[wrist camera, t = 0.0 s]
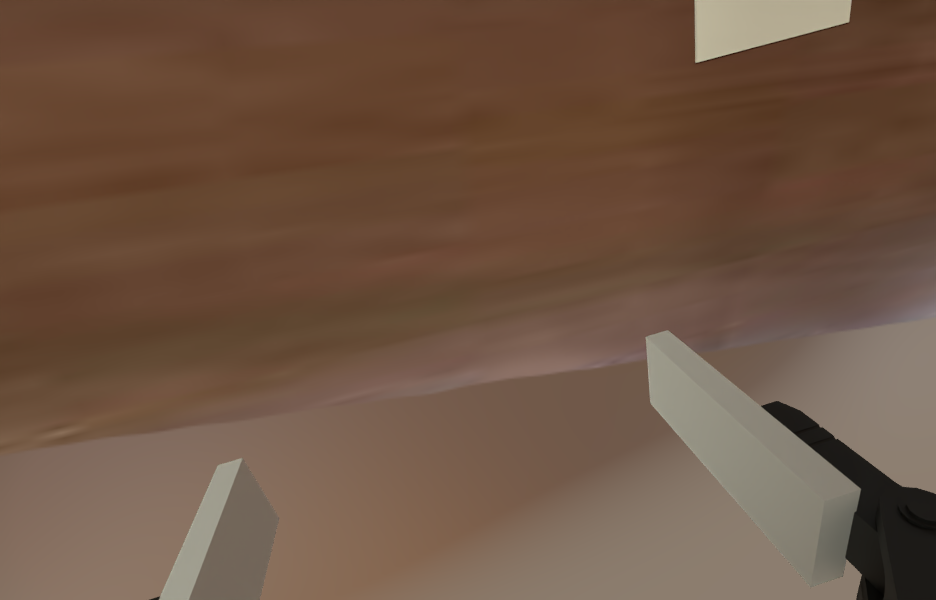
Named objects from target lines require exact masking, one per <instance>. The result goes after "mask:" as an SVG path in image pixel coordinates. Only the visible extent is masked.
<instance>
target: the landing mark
mask: <svg viewBox="0 0 936 600" xmlns="http://www.w3.org/2000/svg"><path fill="white" fill-rule="evenodd" d="M851 1H852V0H695V63H698V62H701V61H705V60H709V59H713V58H716V57H720V56H724V55H728V54H731V53H735V52H739V51H743V50H746V49H750V48H754V47H758V46H761V45H765V44H769V43H773V42H776V41H780V40H784V39H788V38H792V37H795V36H799V35H803V34H807V33H810V32H814V31H818V30H822V29H825V28H829V27H833V26H837V25H840V24H844V23H848V22H849V18H850V10H851Z"/></svg>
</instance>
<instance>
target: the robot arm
mask: <svg viewBox="0 0 936 600" xmlns="http://www.w3.org/2000/svg"><path fill="white" fill-rule="evenodd" d="M646 348H647V362H648V377H649V391H650V403H651V404H652V406H653V407H654V408H655V409H656V410H657V411H658V413H659V414H660V415H661V416H662V417H663V418H664V419H665V421H666V422H667V423H668V424H669V425H670V426H671V427H672V429H673V430H674V431H675V432H676V433H677V434H678V436H680V438H681V439H682V440H683V441H684V442H685V444H686V445H687V446H688V447H689V448H690V449H691V450H692V452H693V453H694V454H695V455H696V456H697V457H698V458H699V460H700V461H701V462H702V463H703V464H704V465H705V467H706V468H707V469H708V470H709V471H710V472H711V473H712V475H714V477H715V478H716V479H717V480H718V481H719V482H720V484H721V485H722V486H723V487H724V488H725V490H726V491H727V492H728V493H729V494H730V495H731V496H732V497H733V499H734V500H735V501H736V502H737V503H738V504H739V506H740V507H741V508H742V509H743V510H744V511H745V512H746V514H747V515H748V516H749V517H750V518H751V519H752V521H753V522H754V523H755V524H756V525H757V526H758V527H759V529H760V530H761V531H762V532H763V533H764V534H765V535H766V537H767V538H768V539H769V540H770V541H771V542H772V543H773V545H774V546H775V547H776V548H777V549H778V550H779V552H780V553H781V554H782V555H783V556H784V557H785V558H786V559H787V561H788V562H789V563H790V564H791V565H792V566H793V568H794V569H795V570H796V571H797V572H798V573H799V575H800V576H801V577H802V578H803V579H804V580H805V581H806V583H807V584H808V585H809V586H810V587H814V586H816V585H819V584H822V583H825V582H828V581H831V580H834V579H837V578H840V577H843V573H844V568H845V564H846V559H847V560H848V561H849V562H850V563H851V564H852V565H853V566H855V568H856V569H857V570H858V571H859V572H860V573H861V574H862V577H861V581H860V585H859V589H858V593H857V599H856V600H936V494H934V493H931V492H928V491H925V490H921V489H918V488H909V487H902V486H900V485H899V484H897V483H896V482H894V481H893V480H891V479H890V478H889V477H887V476H886V475H885V474H883V473H882V472H881V471H879V470H878V469H877V468H875V467H874V466H873V465H872V464H870V463H869V462H868V461H866V460H865V459H864V458H862V457H861V456H860V455H858V454H857V453H856V452H854V451H853V450H852V449H850V448H849V447H848V446H846V445H845V444H844V443H842V442H841V441H840V440H838V439H835V438H834V436H833V435H832V434H831V433H829V432H828V431H827V430H825V429H824V428H820V427H819V425H818V424H817V423H816V422H815V421H813V420H812V419H811V418H809V417H808V416H807V415H805V414H804V413H803V412H801V411H800V410H797V409H795V408H793V407H790V406H788V405H786V404H783V403H781V402H779V401H776V402H772V403H769V404H766V405H763V406H760V405H758V404H757V403H756V402H755V401H753V400H752V399H751V398H750V397H749V396H747V395H746V394H745V393H744V392H742V391H741V390H740V389H739V388H738V387H736V386H735V385H734V384H733V383H732V382H730V381H729V380H728V379H727V378H726V377H724V376H723V375H722V374H721V373H719V372H718V371H717V370H716V369H715V368H713V367H712V366H711V365H710V364H709V363H707V362H706V361H705V360H704V359H702V358H701V357H700V356H699V355H698V354H696V353H695V352H694V351H693V350H692V349H690V348H689V347H688V346H687V345H685V344H684V343H683V342H682V341H681V340H679V339H678V338H677V337H676V336H675V335H673V334H672V333H671V332H670V331H668V330H667V331H663V332H660V333H657V334H653V335H650V336H647V337H646ZM278 521H279V517H278V515H277V514H276V512H275V510H274V509H273V507H272V505H271V504H270V502H269V501H268V499H267V497H266V496H265V494H264V492H263V491H262V489H261V487H260V486H259V484H258V482H257V481H256V479H255V477H254V476H253V474H252V472H251V471H250V469H249V467H248V466H247V464H246V463H245V461H244V459H243V458H241V459H237V460H234V461H231V462H228V463H224V464H221V465H218V466H217V468H216V471H215V473H214V475H213V478H212V480H211V482H210V484H209V487H208V489H207V491H206V493H205V496H204V498H203V500H202V503H201V505H200V507H199V510H198V512H197V514H196V516H195V519H194V521H193V523H192V525H191V528H190V530H189V532H188V535H187V537H186V539H185V541H184V544H183V546H182V548H181V551H180V553H179V555H178V557H177V560H176V562H175V564H174V567H173V569H172V571H171V574H170V576H169V578H168V580H167V583H166V585H165V587H164V589H163V592H162V594H161V596H160V597H157V598H154V599H151V600H260V596H261V592H262V588H263V584H264V579H265V575H266V570H267V566H268V563H269V558H270V554H271V550H272V546H273V542H274V538H275V534H276V529H277V525H278Z"/></svg>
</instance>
